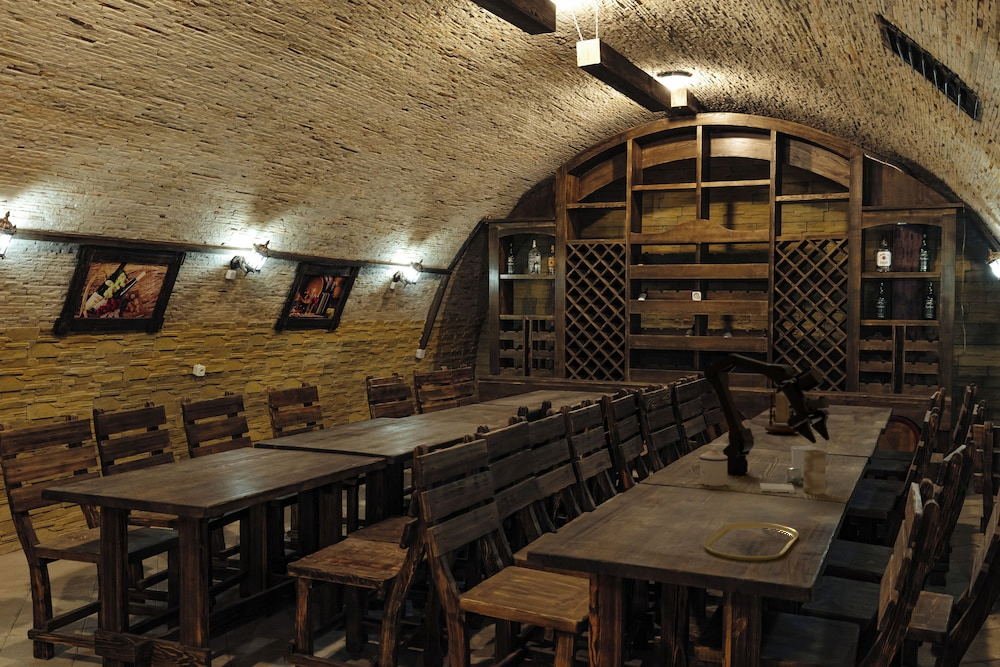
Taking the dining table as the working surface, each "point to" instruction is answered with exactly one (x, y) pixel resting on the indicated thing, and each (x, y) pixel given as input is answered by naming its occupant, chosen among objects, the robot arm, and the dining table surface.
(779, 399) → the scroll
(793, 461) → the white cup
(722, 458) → the teacup with lid
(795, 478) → the grey cylinder
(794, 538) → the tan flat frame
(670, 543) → the dining table surface
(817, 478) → the oak block
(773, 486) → the tile
